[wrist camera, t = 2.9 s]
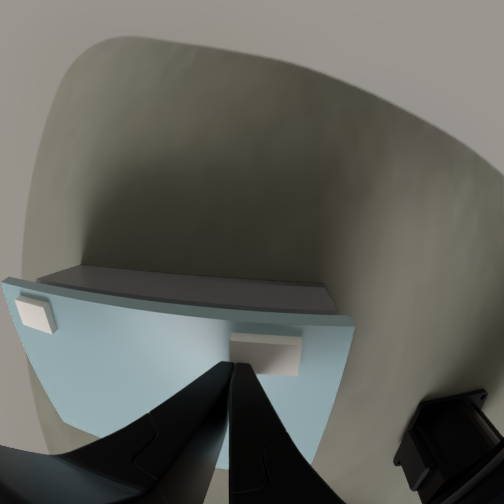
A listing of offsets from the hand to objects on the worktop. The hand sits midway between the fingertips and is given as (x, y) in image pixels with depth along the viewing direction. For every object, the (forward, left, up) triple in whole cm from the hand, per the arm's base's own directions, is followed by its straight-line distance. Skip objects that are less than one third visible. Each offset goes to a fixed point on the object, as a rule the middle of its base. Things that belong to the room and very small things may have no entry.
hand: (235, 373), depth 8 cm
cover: (+4, +3, -2) cm, 5 cm away
